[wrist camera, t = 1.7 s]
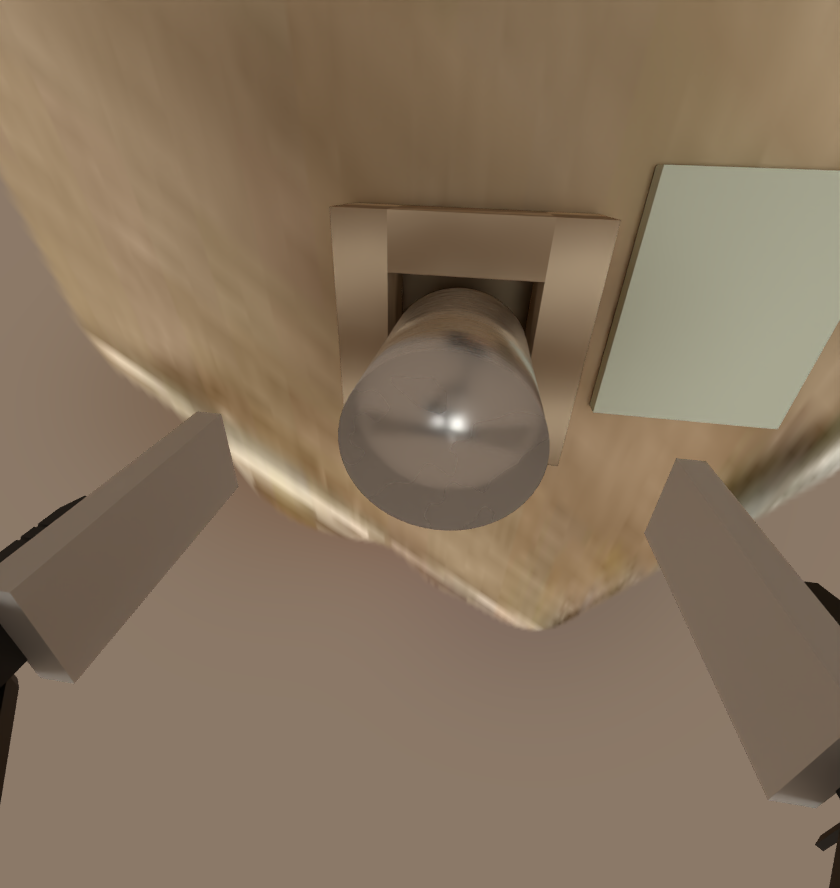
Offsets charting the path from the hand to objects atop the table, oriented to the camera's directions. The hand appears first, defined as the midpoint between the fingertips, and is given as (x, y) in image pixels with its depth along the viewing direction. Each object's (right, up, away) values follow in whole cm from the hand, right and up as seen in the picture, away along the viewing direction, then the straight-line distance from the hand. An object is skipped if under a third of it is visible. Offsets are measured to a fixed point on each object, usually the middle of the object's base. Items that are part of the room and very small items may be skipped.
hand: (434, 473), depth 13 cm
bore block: (+2, +7, +11) cm, 14 cm away
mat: (+15, +8, +9) cm, 19 cm away
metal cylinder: (+2, +7, +11) cm, 14 cm away
